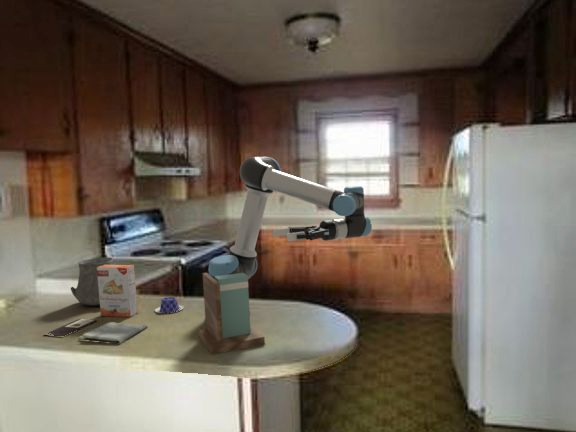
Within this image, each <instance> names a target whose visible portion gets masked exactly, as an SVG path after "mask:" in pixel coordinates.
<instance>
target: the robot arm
mask: <svg viewBox="0 0 576 432" xmlns="http://www.w3.org/2000/svg"><path fill="white" fill-rule="evenodd" d="M239 177H240V179H241V180H242V182H243V183H244V187H245V189H246V191H247V192H246V197H245V201H244V205H243V209H242V212H241V217H240V221H239V226H238V228H237V234H236V237H235V238H236V239H235V243H234V245H232V246H231V247H229V252H228V254H226V255H224V254H223V255H220V256H215V257H213V258H212V259H211V260H210V261H209V262H208V274H209V275H210V276H211V277H213V278H214V279H215V276H222V275H230V274H238V273H244V274H246V275H247V276H248V280H249V279H251V278H252V277H253V276H254V275H255V273H256V272H257V269H258V260H257V255H258V254H257V251H256V250H255V248H256V245H257V241H258V236H259V233H260V229H261V225H262V222H263V221H262V220H263V218H264V213H265V209H266V205H267V201H268V197H269V196H270V195H271V194H274V193H273V192H277V193H279V194H283V195H284V196H288V197H291V198H293V199H296V200H300V201H303V202H306V203H309V204H311V205H315V206H318V207H320V208H324V209H326V210H329V211H332V212H334V213H335V214H337V216H341V217H344V218H338V219H337V218H334V219H327V220H322V221H321V222H320V223H319V225H318V226H317V225H310V226H309V225H307V226H288V227H285V228H284V227H283V228H273V229H272V237H273V238H274V237H275V238H276V237H285V236H286V241H287V242H296V241H304V240H306V241H308V240H309V241H314V240H319V239H321V240H323V241H333V240H338V241H341V240H343V239H352V238H361V237H366V236H369V234H371V231H372V228H373V227H372V222H371V219H370V218H369V217H367V216H366V215H365V192H364V187H362V186H358V185H357V186H345V187H344V189H343V191H341V190H336V189H334V188H332V187H328V186H325V185H322V184H319V183H316V182H313V181H310V180H307V179H304V178H301V177H298V176H294V175H292V174H288V173H286V172H283V171H282V169H281V166H280V164H279V162H277V160H275V159H274V158H273V157H269V156H265V155H264V156H250V157H248V158H246V159H245V160H243V162H242V163H241V164H240V167H239Z"/></svg>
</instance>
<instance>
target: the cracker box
mask: <svg viewBox="0 0 576 432" xmlns="http://www.w3.org/2000/svg"><path fill="white" fill-rule="evenodd" d="M97 276H98V288H99V300H100V305H99V307H100V309H99V310H100V316H101V317H112V318H113V317H117V318H131V317H133V316H135V315H137V314H138V313H139V312H138V299H137V286H136V285H137V284H136V273H135V264H112V265H103V266H99V267H97Z"/></svg>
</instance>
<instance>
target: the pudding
mask: <svg viewBox="0 0 576 432" xmlns="http://www.w3.org/2000/svg"><path fill="white" fill-rule="evenodd" d="M178 303H179V302H178V300H177V298H176V297H174V296H166V297H164V298H162V299H161V302H160V306H159V307H157V308H155V309H154V312H155V313H157V314H162V313H163V312H164V313H163V314H166V313H165V312H167V313H169V312H170V314H172V313H174V312H175V311H176V312H175V313H177V312H179V311H182V310H183V309H185V308H184V307H185V306H184V305H181V304H178ZM179 307H180V308H181V309H180V308H179ZM179 309H180V310H179ZM177 310H179V311H177ZM173 311H174V312H173Z"/></svg>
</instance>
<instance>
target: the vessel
mask: <svg viewBox="0 0 576 432" xmlns="http://www.w3.org/2000/svg"><path fill="white" fill-rule="evenodd" d="M113 261H114V259H113V258H112V257H109V256H107V257H94V258H90V259H84V260H83V259H82V260H81V261H78V262H77V264H78V269H79V275H78V280H77V281H78V282H77V286H76V288H75V287H74V286H71V287H70V291H71V293H72V295H73V296H74V298H75V299H76V300H77V302H79V303H80V304H83V305H84V306H90V307H91V306H92V307H94V306H95V307H96V306H100V300H99V288H98V276H97V267H99V266H103V265H113Z"/></svg>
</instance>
